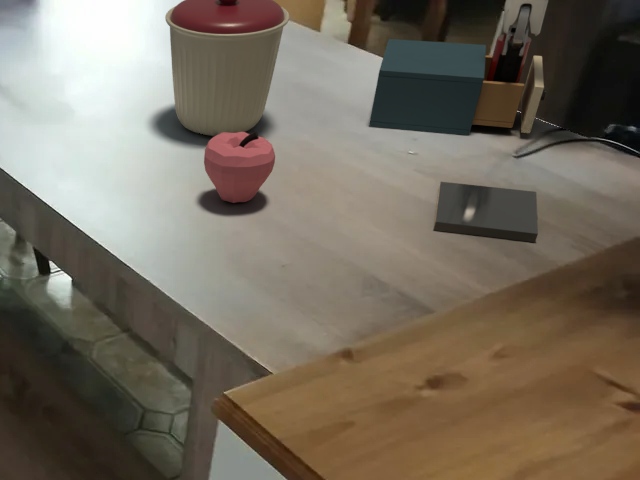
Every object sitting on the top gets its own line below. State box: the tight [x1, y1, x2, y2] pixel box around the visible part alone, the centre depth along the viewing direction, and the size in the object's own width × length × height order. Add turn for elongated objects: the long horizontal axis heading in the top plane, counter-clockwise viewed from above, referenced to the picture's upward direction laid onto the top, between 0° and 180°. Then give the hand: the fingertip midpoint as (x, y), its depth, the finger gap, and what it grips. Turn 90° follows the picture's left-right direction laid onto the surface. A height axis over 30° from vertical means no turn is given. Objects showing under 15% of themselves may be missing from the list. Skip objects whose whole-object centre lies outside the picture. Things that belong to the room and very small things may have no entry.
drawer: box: [472, 54, 547, 134], centre depth 141 cm, size 15×13×7 cm
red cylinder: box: [486, 33, 532, 83], centre depth 139 cm, size 5×5×10 cm
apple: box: [203, 130, 276, 204], centre depth 125 cm, size 10×9×10 cm
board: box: [433, 181, 539, 243], centre depth 121 cm, size 12×12×1 cm
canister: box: [164, 0, 290, 137], centre depth 141 cm, size 18×18×21 cm
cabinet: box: [368, 38, 487, 136], centre depth 144 cm, size 15×15×9 cm
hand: (504, 74), depth 139 cm, fingers closed on red cylinder, 4 cm apart
